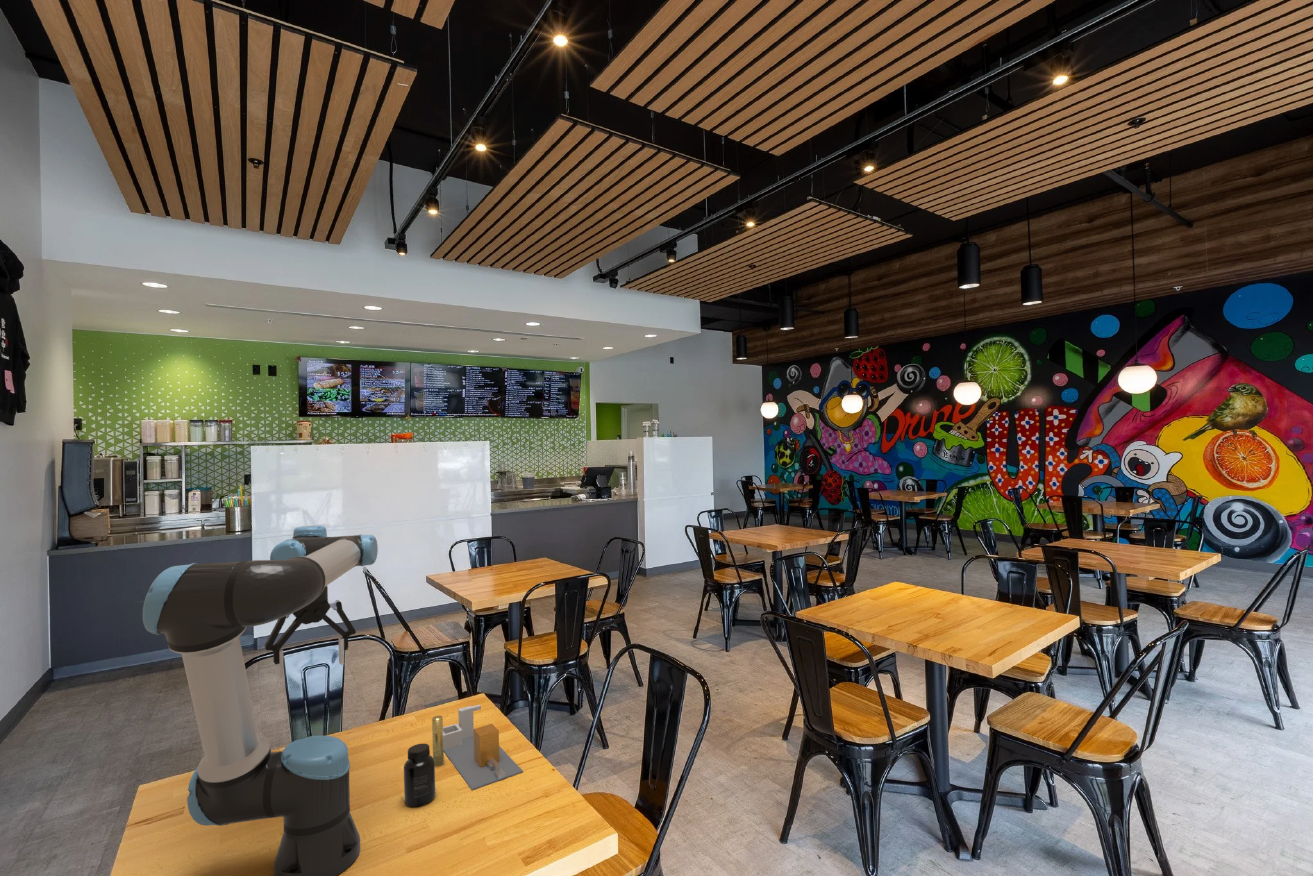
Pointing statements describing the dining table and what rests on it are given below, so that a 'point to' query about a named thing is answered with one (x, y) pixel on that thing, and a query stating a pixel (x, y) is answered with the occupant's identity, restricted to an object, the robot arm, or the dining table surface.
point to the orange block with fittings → (488, 749)
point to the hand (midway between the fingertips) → (312, 669)
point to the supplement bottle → (419, 776)
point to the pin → (437, 740)
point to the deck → (472, 752)
